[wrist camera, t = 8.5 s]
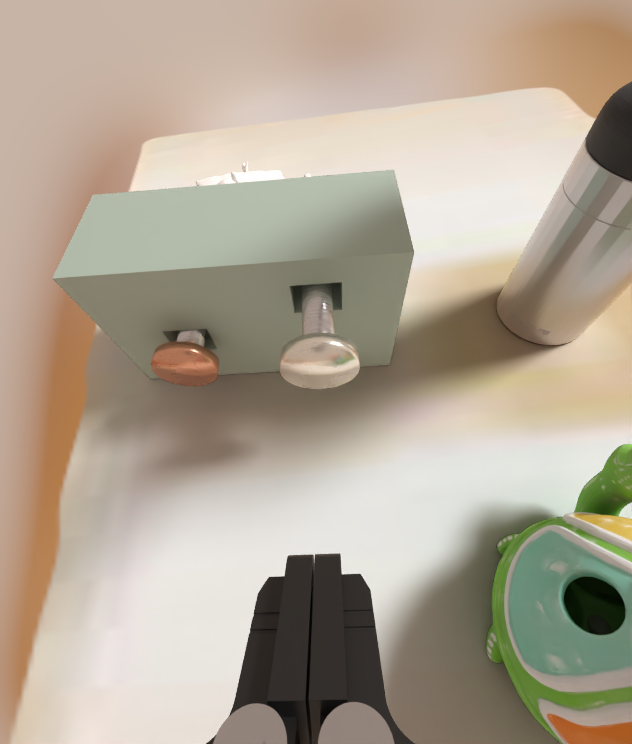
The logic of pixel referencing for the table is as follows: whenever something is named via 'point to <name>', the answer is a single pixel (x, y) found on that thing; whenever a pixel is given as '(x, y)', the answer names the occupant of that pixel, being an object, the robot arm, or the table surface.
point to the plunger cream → (318, 346)
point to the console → (243, 265)
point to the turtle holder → (572, 613)
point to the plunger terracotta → (186, 360)
